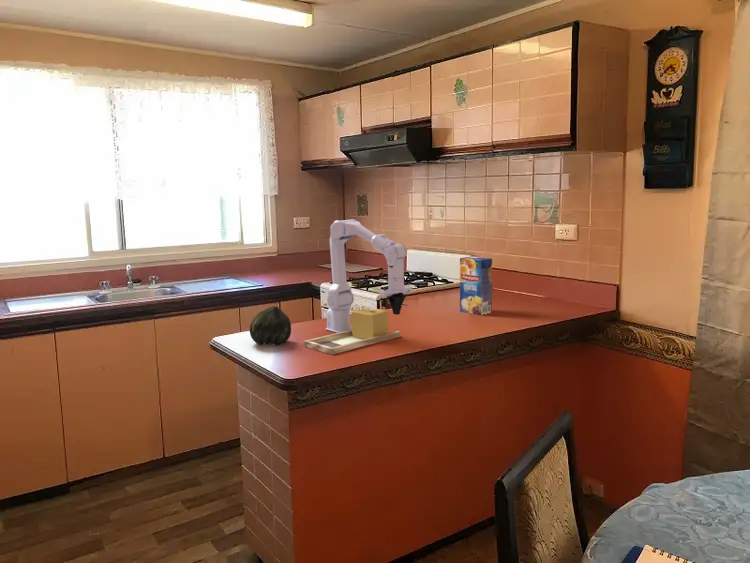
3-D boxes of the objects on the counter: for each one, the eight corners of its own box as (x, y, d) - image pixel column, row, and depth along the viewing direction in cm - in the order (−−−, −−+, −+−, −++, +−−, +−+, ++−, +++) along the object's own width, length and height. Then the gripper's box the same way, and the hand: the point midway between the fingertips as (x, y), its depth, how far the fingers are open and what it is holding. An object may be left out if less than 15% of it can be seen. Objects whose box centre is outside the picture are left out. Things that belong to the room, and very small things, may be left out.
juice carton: (491, 312, 267) (492, 258, 263) (480, 315, 262) (481, 260, 258) (470, 308, 276) (470, 256, 272) (459, 311, 271) (459, 258, 267)
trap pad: (309, 346, 219) (309, 345, 219) (326, 342, 224) (326, 341, 224) (332, 353, 209) (332, 352, 209) (349, 348, 215) (349, 348, 214)
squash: (245, 325, 229) (250, 301, 218) (283, 322, 235) (290, 298, 224) (251, 357, 221) (257, 333, 210) (291, 353, 227) (299, 329, 216)
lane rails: (304, 346, 219) (303, 340, 219) (371, 329, 241) (371, 324, 241) (331, 354, 207) (331, 349, 207) (400, 336, 230) (400, 331, 229)
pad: (328, 341, 225) (328, 341, 225) (353, 335, 233) (353, 335, 233) (351, 348, 215) (351, 347, 215) (376, 341, 223) (376, 341, 223)
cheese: (368, 332, 237) (368, 306, 236) (390, 336, 231) (389, 310, 229) (350, 337, 229) (350, 311, 228) (372, 341, 223) (372, 315, 221)
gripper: (389, 281, 212) (389, 319, 214) (417, 276, 222) (418, 312, 224) (375, 279, 217) (376, 316, 220) (404, 274, 227) (404, 309, 229)
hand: (396, 314), depth 222 cm, fingers closed
